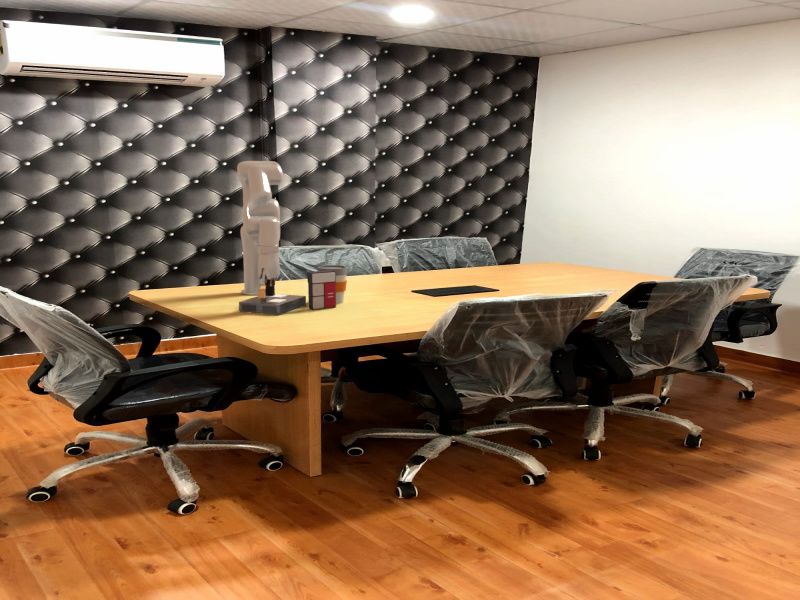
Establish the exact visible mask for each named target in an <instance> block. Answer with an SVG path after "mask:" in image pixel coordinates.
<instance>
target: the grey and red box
mask: <svg viewBox="0 0 800 600" xmlns="http://www.w3.org/2000/svg"><path fill="white" fill-rule="evenodd" d="M306 274H307V276H306V279H307V284H308V285H307V287H308V289H307V293H308V309H309V310H312V311H315V310H324V309H334V308H337V304H336V272H335V271H332V270H327V271H318V270H315V271H314V270H313V271H307V273H306Z"/></svg>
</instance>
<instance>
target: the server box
mask: <svg viewBox="0 0 800 600" xmlns="http://www.w3.org/2000/svg"><path fill="white" fill-rule="evenodd" d="M276 294H277V293H275V295H276ZM280 294H281V293H280ZM281 295H285V294H281ZM286 295H287V296H285V297H282V298H274V297H269V296H265V298H258V295H256V296H255V297H252V298H248V299H244V300H241V301H238V312H239V311H240V312H239V313H246V312H251V313H250V314H259V313H263V314H262V315H272V314H274V315H276V316H280V315H285V314H287V313H289V312H292V311H296V310H297V309H301V308H304V307H307V296H306V295H297V294H286ZM273 299H285V300H286V301H283V302H280V303H275V302H268V301H270V300H273Z"/></svg>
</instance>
